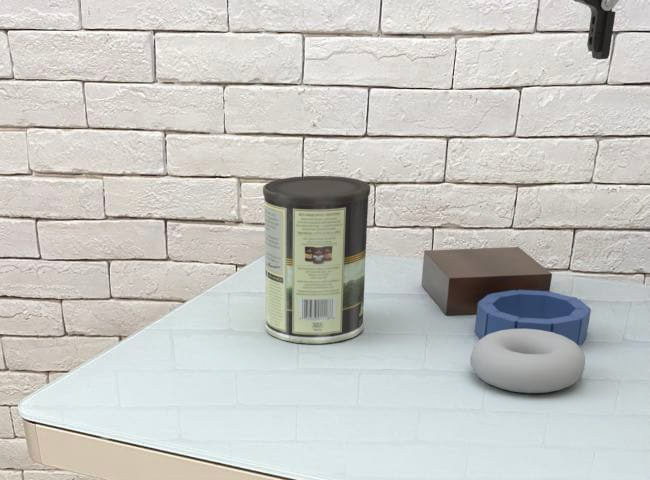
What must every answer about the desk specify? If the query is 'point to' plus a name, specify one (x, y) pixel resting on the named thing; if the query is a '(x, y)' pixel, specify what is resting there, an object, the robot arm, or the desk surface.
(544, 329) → the ring
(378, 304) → the desk surface
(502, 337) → the donut
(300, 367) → the desk surface
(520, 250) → the platform
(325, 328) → the coffee can
